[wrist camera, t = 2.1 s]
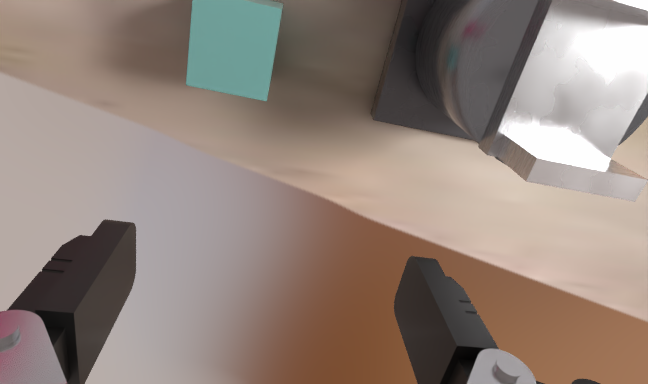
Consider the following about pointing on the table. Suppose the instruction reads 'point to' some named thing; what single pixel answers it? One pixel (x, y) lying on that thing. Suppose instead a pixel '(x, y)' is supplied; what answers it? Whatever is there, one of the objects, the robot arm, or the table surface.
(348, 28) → the table surface
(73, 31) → the table surface
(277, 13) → the turquoise cube
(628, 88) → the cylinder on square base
